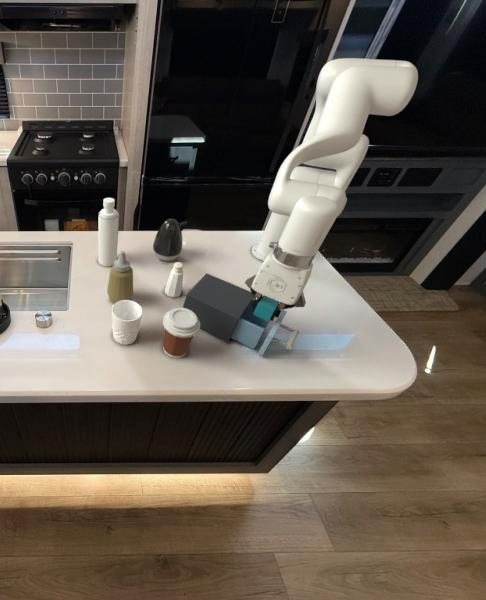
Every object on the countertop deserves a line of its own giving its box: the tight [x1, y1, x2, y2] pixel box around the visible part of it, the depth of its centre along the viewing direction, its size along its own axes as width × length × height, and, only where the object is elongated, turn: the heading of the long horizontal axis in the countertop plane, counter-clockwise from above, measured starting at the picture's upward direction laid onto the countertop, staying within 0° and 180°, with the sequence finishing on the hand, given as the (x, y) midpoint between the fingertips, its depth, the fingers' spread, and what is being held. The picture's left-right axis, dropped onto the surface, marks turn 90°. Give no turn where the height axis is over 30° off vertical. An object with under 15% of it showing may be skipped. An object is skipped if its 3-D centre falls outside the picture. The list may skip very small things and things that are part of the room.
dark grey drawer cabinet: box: [182, 272, 254, 344], centre depth 90 cm, size 15×13×10 cm
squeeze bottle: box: [106, 250, 134, 305], centre depth 93 cm, size 8×8×18 cm
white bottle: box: [97, 197, 120, 267], centre depth 106 cm, size 7×7×25 cm
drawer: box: [231, 299, 301, 357], centre depth 84 cm, size 18×11×8 cm, turn 50°
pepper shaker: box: [164, 262, 184, 298], centre depth 98 cm, size 5×5×11 cm
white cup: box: [111, 299, 143, 346], centre depth 85 cm, size 8×8×10 cm
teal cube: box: [253, 294, 280, 323], centre depth 80 cm, size 4×4×4 cm
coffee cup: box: [162, 307, 201, 359], centre depth 81 cm, size 9×9×12 cm
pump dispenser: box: [152, 218, 188, 262], centre depth 111 cm, size 10×10×15 cm
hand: (263, 312), depth 81 cm, fingers closed on teal cube, 4 cm apart
